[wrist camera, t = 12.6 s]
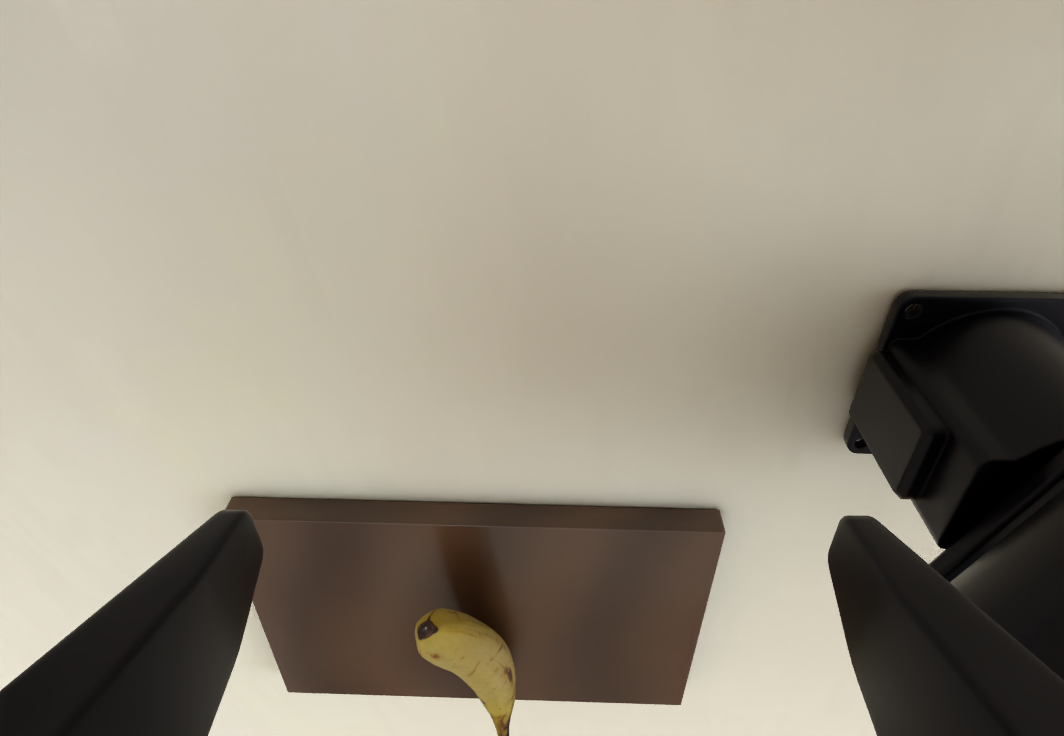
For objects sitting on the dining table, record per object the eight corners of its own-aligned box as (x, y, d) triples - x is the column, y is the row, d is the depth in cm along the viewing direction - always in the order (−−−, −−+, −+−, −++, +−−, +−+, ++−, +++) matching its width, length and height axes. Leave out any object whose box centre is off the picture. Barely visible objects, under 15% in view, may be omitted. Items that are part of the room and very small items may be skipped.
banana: (412, 555, 27) (392, 644, 24) (467, 545, 27) (455, 635, 24) (489, 684, 33) (481, 771, 30) (535, 678, 32) (533, 765, 29)
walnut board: (719, 509, 27) (725, 532, 26) (677, 682, 34) (680, 705, 33) (231, 496, 27) (219, 518, 26) (295, 670, 35) (287, 692, 34)
